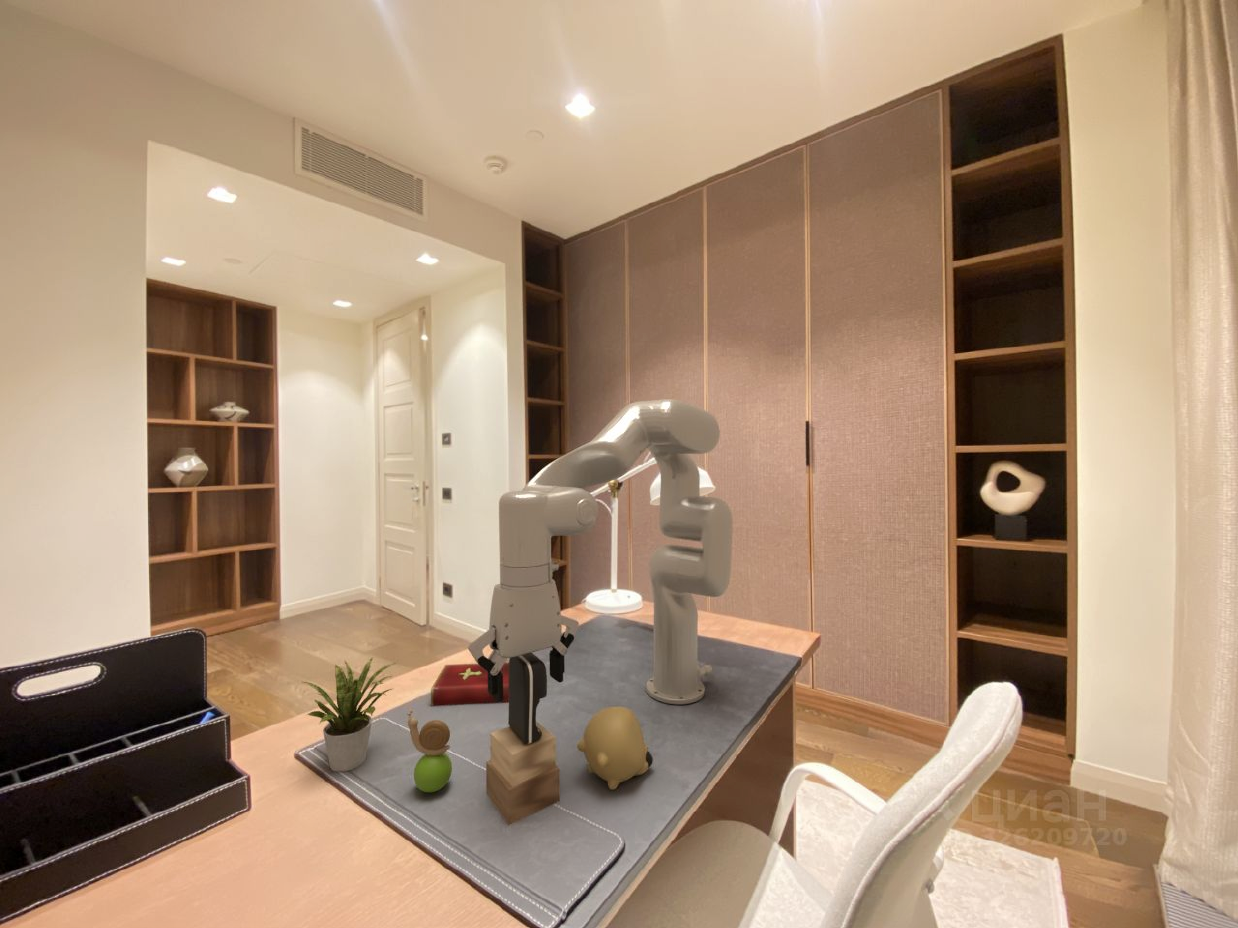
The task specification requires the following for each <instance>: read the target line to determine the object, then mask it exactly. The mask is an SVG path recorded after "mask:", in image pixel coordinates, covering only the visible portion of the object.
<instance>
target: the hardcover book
mask: <svg viewBox="0 0 1238 928" xmlns="http://www.w3.org/2000/svg"><path fill="white" fill-rule="evenodd" d="M500 672H501V673H502V674H503V700H502V701H501V702H497V701H496V699H495V698H494V697H493V696H492V695H490V694H489V692H488V673H487V670H485V669H484V668H483V667H481V666H480V665H479V664H478V663H462V664H459V663H457V664H456V663H455V664H445V665H444V666H443V668H442V670H441V671H440V673H439V675H438V676H437V678H436V680H435V682H434V683H433V685H432V686H431V690H430V706H431V707H435V706H436V707H439V706H457V705H458V706H461V705H482V704H483V705H485V704H503V703H509V661H506V662H505V663H504V665H503V666H502V668H501V669H500Z"/></svg>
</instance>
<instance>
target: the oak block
mask: <svg viewBox="0 0 1238 928" xmlns="http://www.w3.org/2000/svg"><path fill="white" fill-rule="evenodd" d="M536 726H537V727H538V728H539V729H540V730H541V732H542V736H541V738H540V739H538V740H536V741H534V742H532V743H530V744H528V743H527V744H524V743H523V742H522V741H521V740H520V738H519V737H518V736H517V735H516V734H515V732H514V731H513V730H512V728H511V727H510V726H509V725H508V726H507V727H504V728H501V729H498V730H496V731H493V732H491V733H490V734H489V735H490V760H491V764H492V765H493V766H494V768H495V769H496V770H497V771H498V772H499V773H500V774H501V775H502V776H503V777H504V778H505V780H506V781H507V782H508V783H509V784H510V785H511V786H512V787H514V786H516V785H519V784H521V783H523V782H525V781H527V780H529V779H531V778H534V777H536V776H538V775H540V774H542V773H544V772H547V771H549V770H551V769H553V768H555V767H556V765H557V764H556V762H557V761H556V758H557V757H556V753H557V752H556V750H557V749H556V747H557V746H556V745H557V744H556V736H555V735H554V734H552V733H551V732H550V731H549V730H548V729H546V727H544V726H543V725H541V724H540V723H539V722H538V721H537V720H536Z"/></svg>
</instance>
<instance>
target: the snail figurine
mask: <svg viewBox="0 0 1238 928" xmlns="http://www.w3.org/2000/svg"><path fill="white" fill-rule="evenodd" d="M412 713H413V709H409V711H408V712H407V716H408V717H409V719H408V721H407V727H408V728H409V732H410V733H409V734H410V739H411V741H412V744H413V746H414V748H415V749H416V750H417V752H419V753H421V754H423V755H422V756H421V757H420V758H419V759H418V760H417V763H416V765H415V766H414V772H413V780H414V784H415V785H416V787H417V788H418V789H419V790H420V791H422V792H424V793H435V792H438V791H440V790H441V789H442V788H443V787H444V786H445V785H447V783H448V782H449V780H450V779H451V775H452V771H453V764H452V760H451V758H450V756H449V755H448V754H447V753H446V752H447V751H448V750H449V749H450V748H451V745H449V744H448V743H449V741H450V738H451V737H450V736H451V731H450V728H449V726H448V725H447V723H445V722H444V721H442V720H437V719H435V720H430V721H428V722H427V723H425V724H424V725H423V726H422V727H421V729H420V731H419V729H418V723H419V721H418V719H417V718H416V717H412V716H411V715H412Z"/></svg>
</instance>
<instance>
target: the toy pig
mask: <svg viewBox="0 0 1238 928" xmlns="http://www.w3.org/2000/svg"><path fill="white" fill-rule="evenodd" d="M643 734H644V733H643V731H642V727H641V725H640V722H639V720H638V718H637V716H636V715H635V713H634V711H633V710H631V709H629V708H627V707H624V706H611V707H610V706H609V707H606V708H603V709H601V710H599V711H598V712H596V713H595V714H594V715H593V716H592V717H591V718H590V720H589V721H588V723H587V724H586V726H585V729H584V732H583V736H582V739H581V740H580V741H578V743H577V744H576V747H577V750H578V751H579V752H580V753H581V752H582V753H583V754H584V757H585V760H586V761H587V770H588V771H589V772H590V773H591V774H592V773H595V774H596V775H597V776H598V777H600V778H601V779H603V780H604V781H606V782H607V785H608V788H609V789H611V790H615V789H617V787H618V785H619V784H620V783H622V782H623V783H624V782H625V781H628V780H630V779H631V778H633V777H634V776H641V775H643V774H645V773H646V772H647V771H648V769H649V768H651V766H652V764H653V761H654V760H653V759H654V758H653V756H652V753H650V752H649V751H648V749H649V745H647V744H646V743H645V739H644V735H643Z"/></svg>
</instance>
